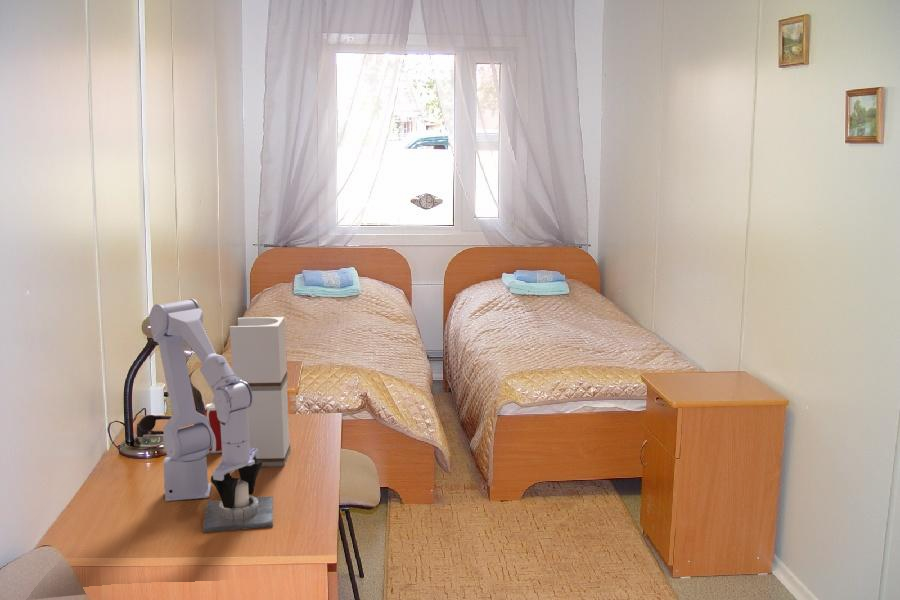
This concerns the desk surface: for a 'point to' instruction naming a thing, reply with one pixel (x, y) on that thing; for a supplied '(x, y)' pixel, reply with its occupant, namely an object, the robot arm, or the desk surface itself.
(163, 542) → the desk surface
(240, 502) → the cylinder
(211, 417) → the soda can
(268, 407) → the tall hollow white pillar
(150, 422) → the sunglasses
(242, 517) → the duct base
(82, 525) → the desk surface
